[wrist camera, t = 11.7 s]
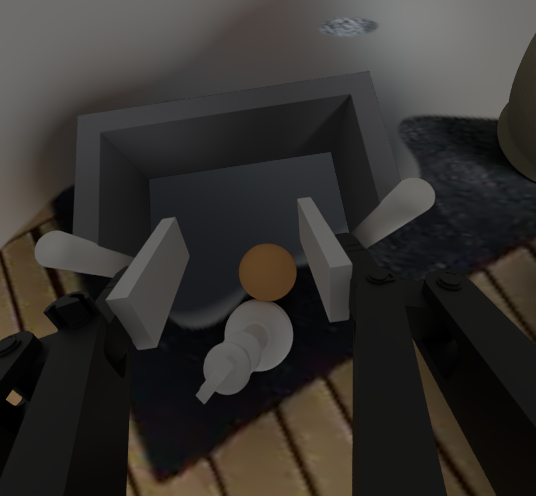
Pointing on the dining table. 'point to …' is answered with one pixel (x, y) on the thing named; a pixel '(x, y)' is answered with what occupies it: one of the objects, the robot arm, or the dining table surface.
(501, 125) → the planter bowl
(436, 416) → the dining table surface
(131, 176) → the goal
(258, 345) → the chess piece
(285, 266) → the ball
